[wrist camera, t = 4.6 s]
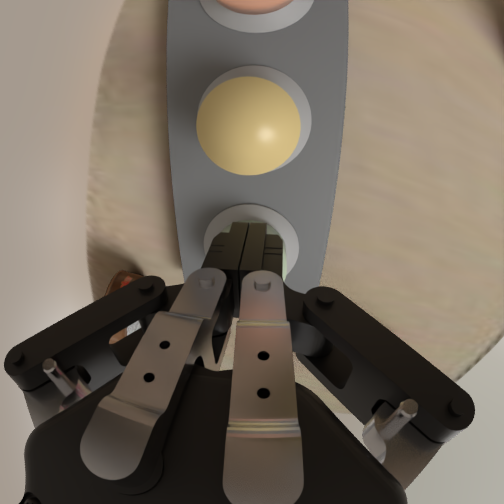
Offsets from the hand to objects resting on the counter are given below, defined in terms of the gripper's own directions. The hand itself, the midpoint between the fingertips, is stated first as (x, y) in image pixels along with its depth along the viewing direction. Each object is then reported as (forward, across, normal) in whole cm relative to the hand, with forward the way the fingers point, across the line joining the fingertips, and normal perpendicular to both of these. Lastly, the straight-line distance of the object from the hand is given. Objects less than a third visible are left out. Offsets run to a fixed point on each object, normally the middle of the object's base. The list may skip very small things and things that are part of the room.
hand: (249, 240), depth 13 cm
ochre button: (+7, +1, -5) cm, 8 cm away
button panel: (+11, +1, -4) cm, 12 cm away
